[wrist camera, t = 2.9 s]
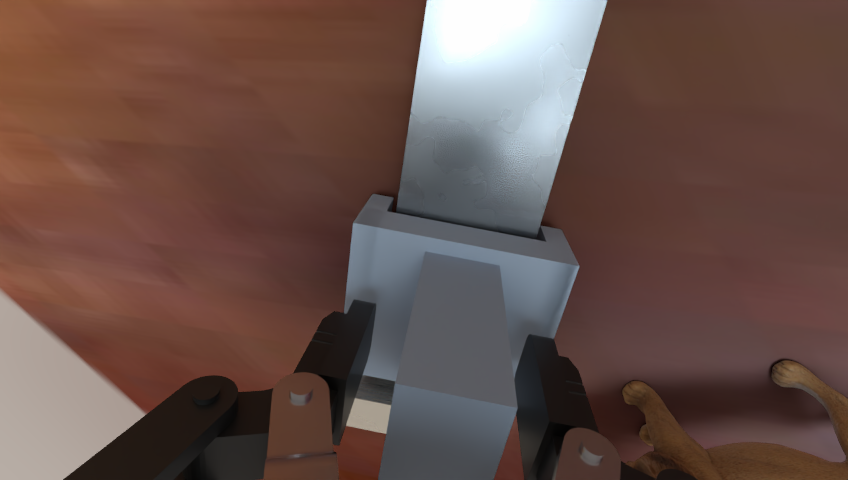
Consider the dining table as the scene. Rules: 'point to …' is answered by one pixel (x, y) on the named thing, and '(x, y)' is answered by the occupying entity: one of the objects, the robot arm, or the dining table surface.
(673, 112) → the dining table surface
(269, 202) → the dining table surface
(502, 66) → the rail station
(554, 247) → the carriage
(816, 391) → the lion figurine
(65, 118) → the dining table surface
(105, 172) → the dining table surface
